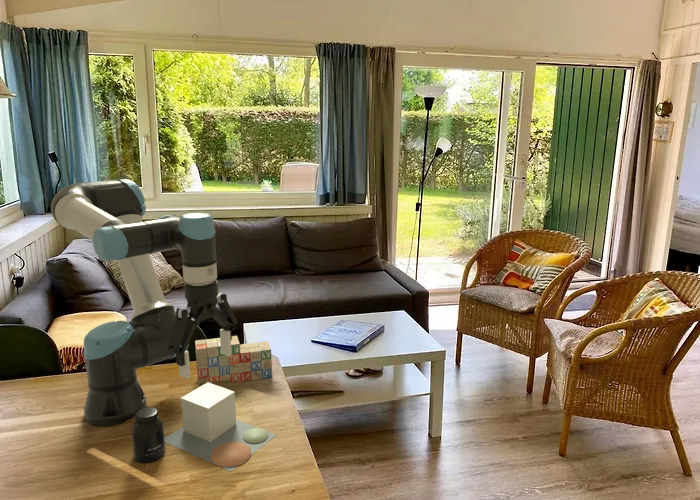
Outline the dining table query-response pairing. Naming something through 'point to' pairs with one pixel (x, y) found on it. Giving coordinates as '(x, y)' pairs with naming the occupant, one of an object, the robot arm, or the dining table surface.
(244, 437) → the board
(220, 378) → the stack of blocks
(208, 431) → the plain off-white box
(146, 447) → the supplement bottle
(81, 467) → the dining table surface
